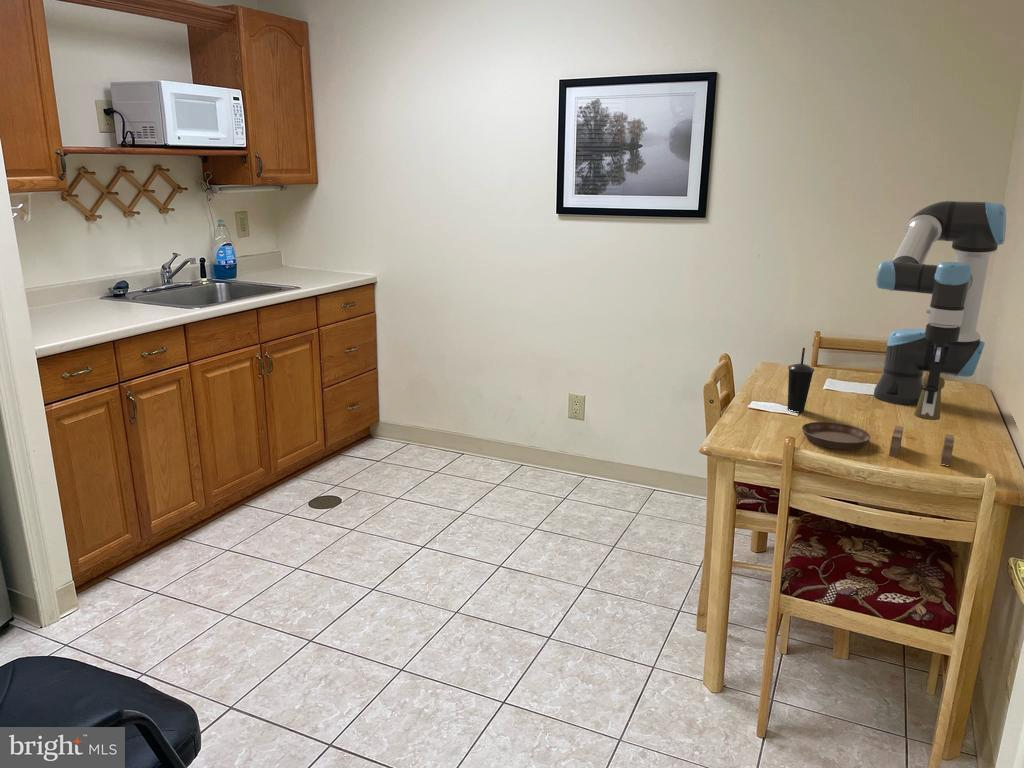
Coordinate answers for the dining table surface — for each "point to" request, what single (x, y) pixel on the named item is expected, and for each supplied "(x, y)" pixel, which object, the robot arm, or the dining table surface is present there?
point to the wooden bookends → (945, 452)
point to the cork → (937, 405)
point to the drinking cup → (799, 384)
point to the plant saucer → (835, 435)
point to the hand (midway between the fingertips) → (927, 412)
